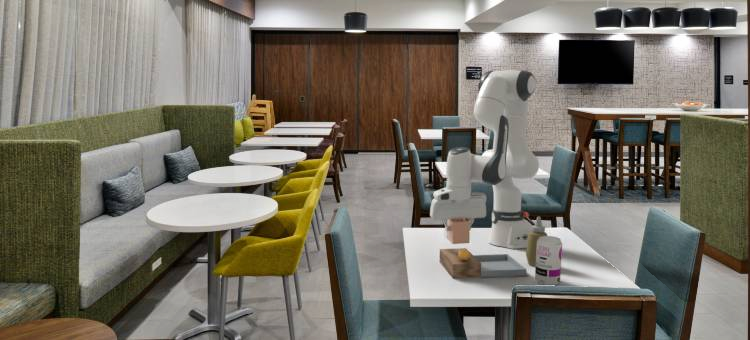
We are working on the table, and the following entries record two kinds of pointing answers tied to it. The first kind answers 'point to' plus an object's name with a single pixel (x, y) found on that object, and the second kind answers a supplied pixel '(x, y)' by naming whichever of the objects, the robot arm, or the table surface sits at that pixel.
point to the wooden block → (459, 264)
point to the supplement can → (548, 260)
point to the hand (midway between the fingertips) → (457, 230)
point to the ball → (464, 254)
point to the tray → (500, 266)
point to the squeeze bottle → (534, 241)
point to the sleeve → (458, 231)
